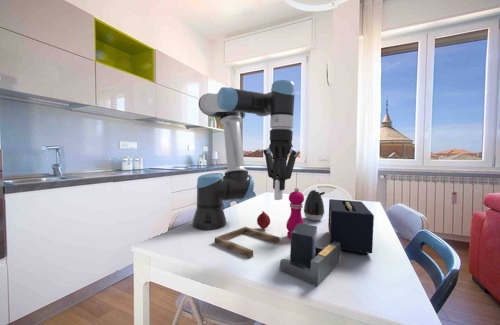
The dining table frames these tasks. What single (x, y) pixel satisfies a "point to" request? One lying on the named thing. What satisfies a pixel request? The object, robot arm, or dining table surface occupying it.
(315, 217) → the pump dispenser
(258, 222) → the onion
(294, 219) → the pepper mill
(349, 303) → the dining table surface
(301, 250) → the small box
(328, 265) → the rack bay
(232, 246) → the holder
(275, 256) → the dining table surface
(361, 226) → the black toaster
